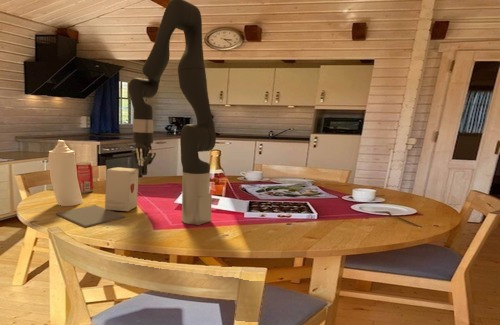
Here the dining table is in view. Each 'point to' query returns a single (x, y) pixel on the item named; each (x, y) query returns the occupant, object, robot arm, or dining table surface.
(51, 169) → the white bottle
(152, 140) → the robot arm
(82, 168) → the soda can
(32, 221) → the dining table surface
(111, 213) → the mat
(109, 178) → the supplement box
